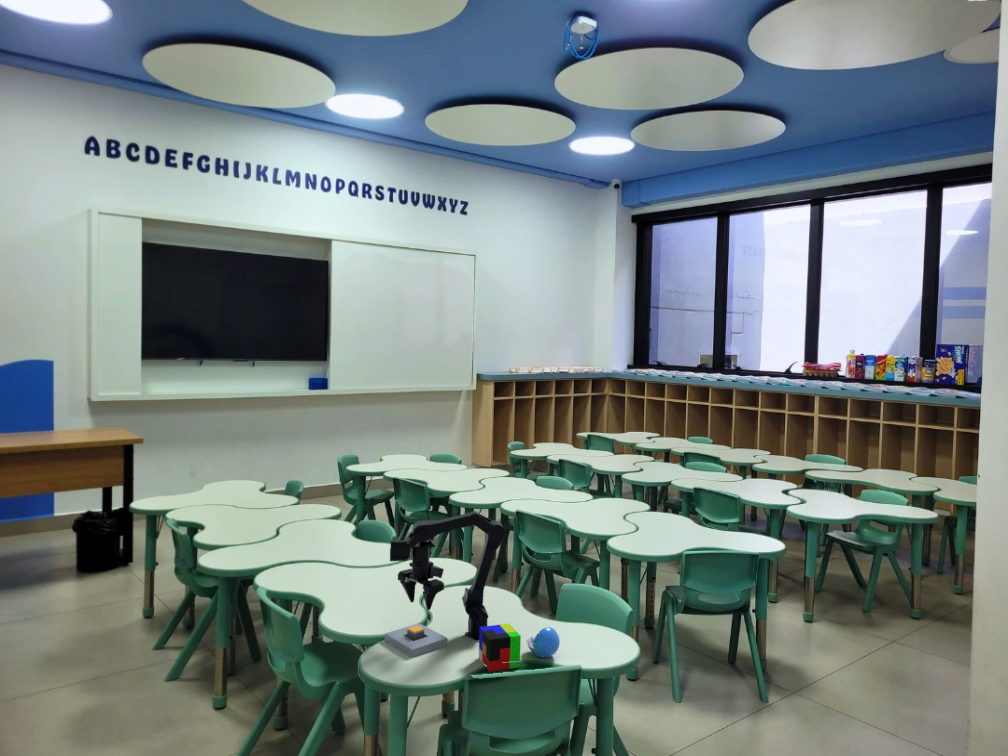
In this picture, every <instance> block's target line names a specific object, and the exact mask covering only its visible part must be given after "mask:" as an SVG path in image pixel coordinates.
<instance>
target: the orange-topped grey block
mask: <svg viewBox="0 0 1008 756" xmlns="http://www.w3.org/2000/svg"><path fill="white" fill-rule="evenodd" d="M407 638H409V639H411V640H412V641H416V640H419V639H422V638H424V628H422V627H420V626H418V625H416V626H413V627H410V628H407Z"/></svg>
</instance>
